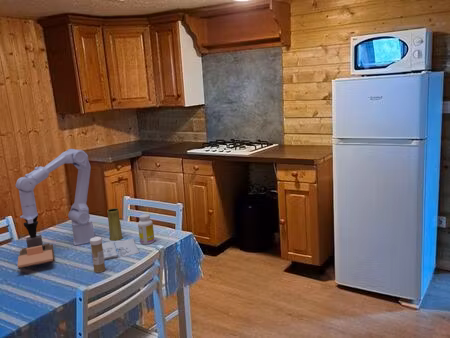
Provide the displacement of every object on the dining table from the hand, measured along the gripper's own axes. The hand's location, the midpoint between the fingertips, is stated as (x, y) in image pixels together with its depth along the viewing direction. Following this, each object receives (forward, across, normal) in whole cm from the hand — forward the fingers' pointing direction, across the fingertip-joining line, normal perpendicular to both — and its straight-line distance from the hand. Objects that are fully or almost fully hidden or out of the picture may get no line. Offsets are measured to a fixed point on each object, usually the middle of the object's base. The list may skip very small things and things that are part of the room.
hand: (33, 234), depth 184 cm
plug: (+9, 0, 0) cm, 9 cm away
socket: (+10, 0, 0) cm, 10 cm away
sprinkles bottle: (+10, +30, +23) cm, 39 cm away
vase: (+10, -3, +35) cm, 37 cm away
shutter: (+6, +13, 0) cm, 14 cm away
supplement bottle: (+10, +10, +47) cm, 49 cm away
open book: (+11, +12, +32) cm, 36 cm away
